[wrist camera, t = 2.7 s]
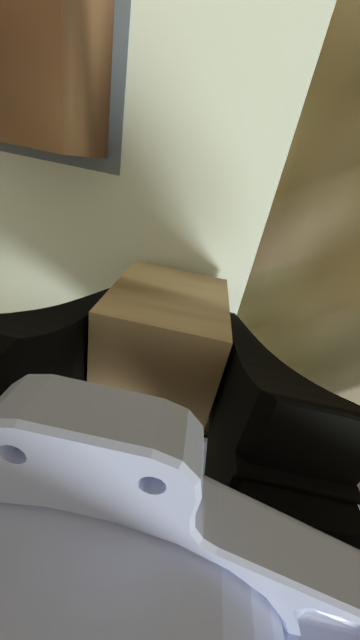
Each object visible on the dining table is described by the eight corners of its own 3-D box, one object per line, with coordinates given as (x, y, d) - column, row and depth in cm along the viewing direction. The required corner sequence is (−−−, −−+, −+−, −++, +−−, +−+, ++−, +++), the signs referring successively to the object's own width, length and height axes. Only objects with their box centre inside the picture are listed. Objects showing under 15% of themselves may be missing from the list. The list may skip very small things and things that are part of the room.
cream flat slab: (215, 374, 16) (215, 381, 15) (8, 329, 16) (0, 335, 15) (349, -54, 8) (359, -70, 7) (-59, -134, 8) (-80, -157, 8)
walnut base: (107, 158, 11) (64, 154, 8) (-21, 132, 11) (-115, 117, 8) (116, -35, 8) (58, -154, 5) (-49, -68, 8) (-203, -205, 5)
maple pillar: (205, 354, 14) (200, 439, 10) (127, 337, 14) (86, 414, 10) (226, 279, 12) (232, 343, 8) (135, 260, 12) (88, 311, 8)
